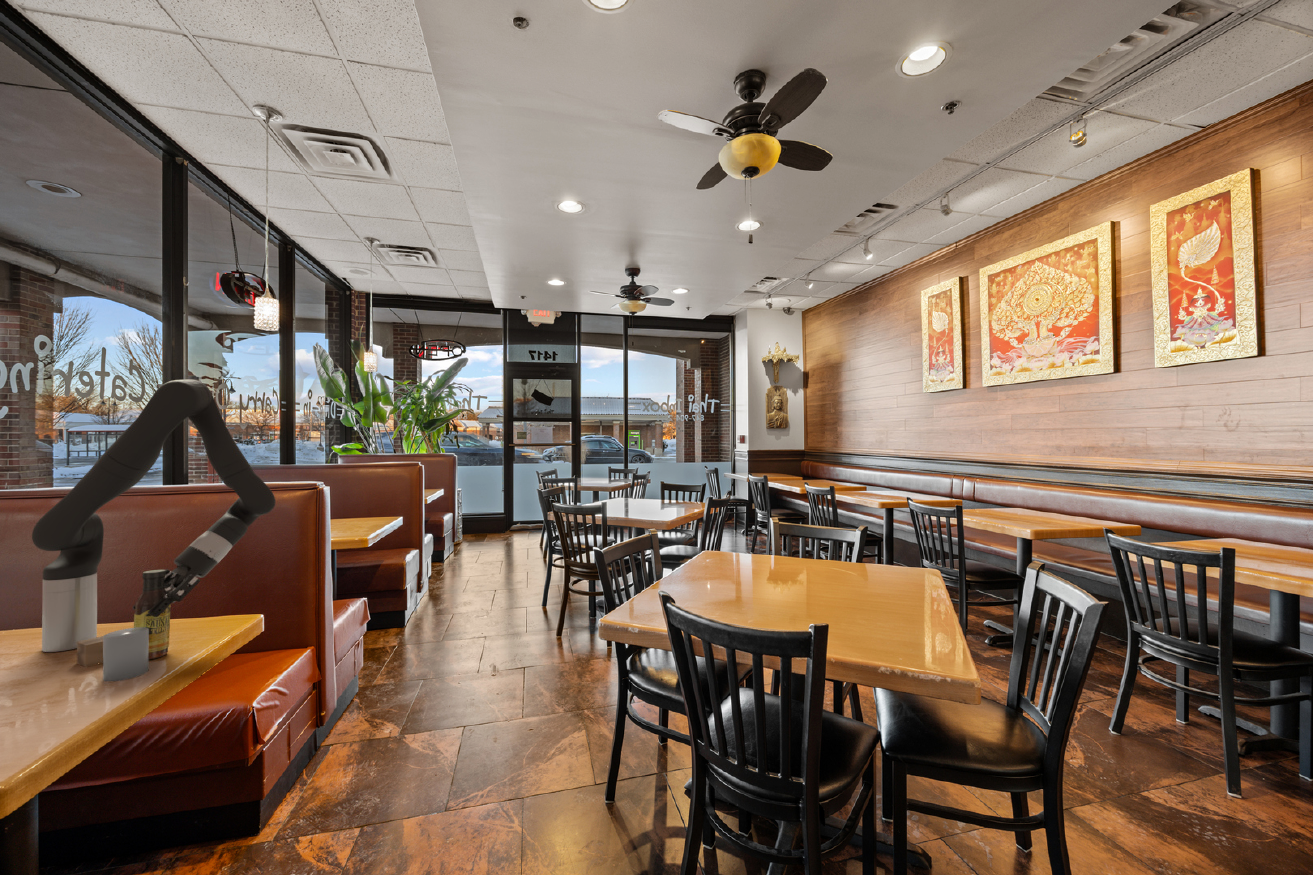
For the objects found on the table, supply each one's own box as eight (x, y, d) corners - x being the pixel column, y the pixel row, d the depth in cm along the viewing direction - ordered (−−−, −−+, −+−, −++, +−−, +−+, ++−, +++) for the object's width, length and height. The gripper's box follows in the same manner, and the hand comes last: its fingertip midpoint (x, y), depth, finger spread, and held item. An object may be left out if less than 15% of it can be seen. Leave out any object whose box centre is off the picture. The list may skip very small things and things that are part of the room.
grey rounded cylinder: (97, 677, 115) (97, 635, 115) (140, 665, 121) (140, 625, 121) (110, 684, 112) (111, 640, 112) (154, 671, 118) (154, 629, 118)
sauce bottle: (146, 663, 122) (147, 575, 123) (124, 661, 124) (125, 574, 124) (177, 652, 129) (177, 568, 129) (156, 650, 130) (157, 567, 131)
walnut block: (76, 663, 123) (77, 641, 123) (107, 656, 127) (107, 634, 127) (85, 667, 120) (85, 645, 121) (115, 659, 125) (116, 638, 125)
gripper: (177, 542, 137) (115, 600, 126) (205, 547, 130) (142, 608, 120) (203, 560, 141) (145, 617, 131) (231, 565, 135) (172, 625, 124)
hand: (143, 612), depth 125 cm, fingers open, 7 cm apart
